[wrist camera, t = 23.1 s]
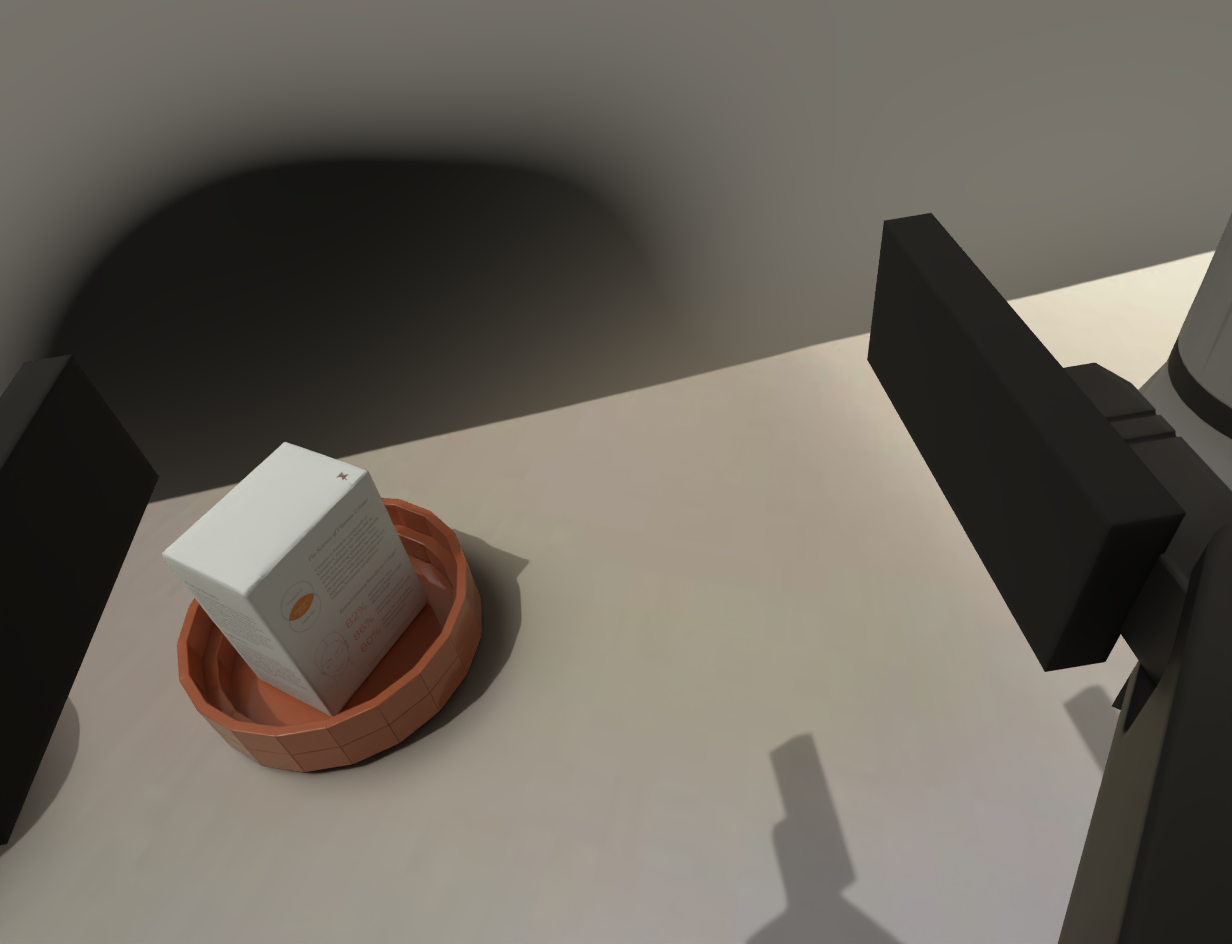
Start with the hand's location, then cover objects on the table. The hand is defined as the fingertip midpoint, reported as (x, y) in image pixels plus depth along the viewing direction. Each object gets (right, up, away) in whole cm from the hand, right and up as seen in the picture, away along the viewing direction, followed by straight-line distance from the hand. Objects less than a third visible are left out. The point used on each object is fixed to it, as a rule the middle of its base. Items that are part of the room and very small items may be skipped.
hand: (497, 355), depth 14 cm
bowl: (-12, -11, +31) cm, 35 cm away
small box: (-12, -11, +31) cm, 35 cm away
